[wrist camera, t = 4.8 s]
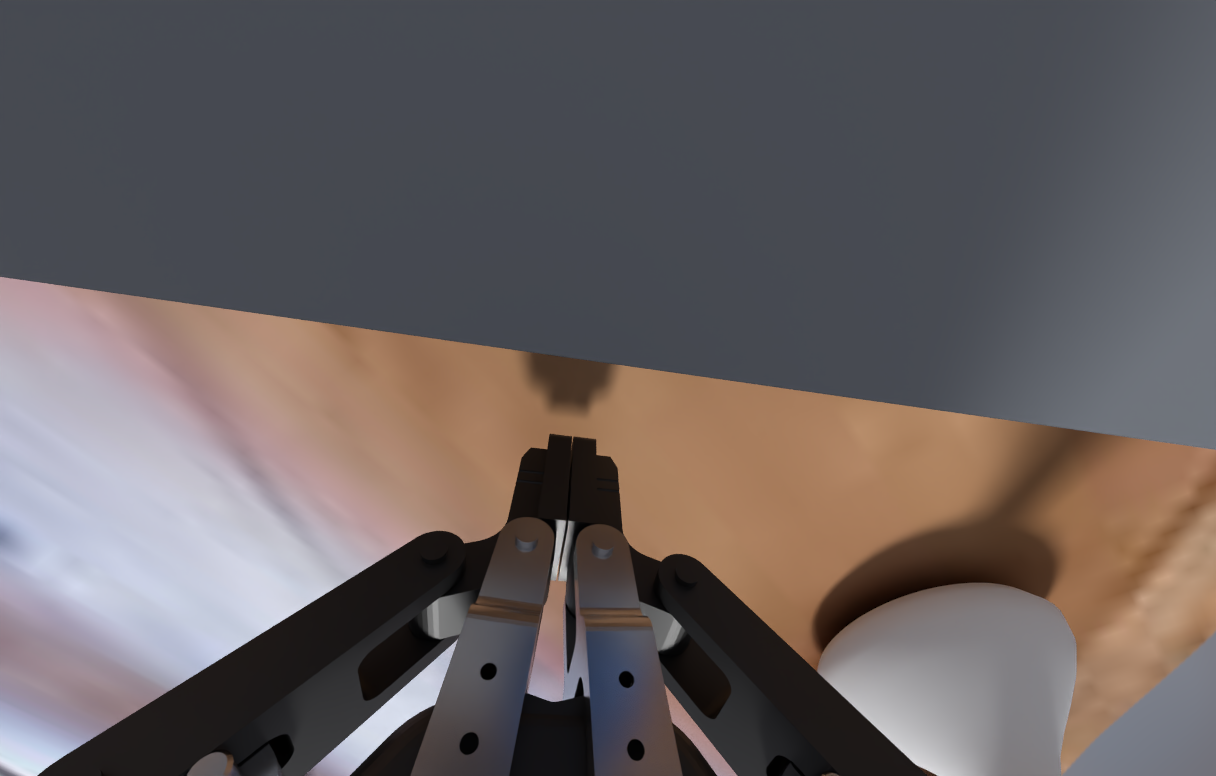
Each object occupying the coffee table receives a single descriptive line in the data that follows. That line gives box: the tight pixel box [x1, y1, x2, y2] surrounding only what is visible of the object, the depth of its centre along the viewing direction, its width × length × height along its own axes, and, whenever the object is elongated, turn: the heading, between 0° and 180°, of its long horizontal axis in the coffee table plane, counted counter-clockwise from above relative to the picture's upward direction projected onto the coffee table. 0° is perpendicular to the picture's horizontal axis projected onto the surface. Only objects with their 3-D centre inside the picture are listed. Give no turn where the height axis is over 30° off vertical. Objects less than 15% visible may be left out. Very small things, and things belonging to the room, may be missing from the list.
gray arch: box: [0, 0, 1216, 450], centre depth 7 cm, size 3×15×10 cm, turn 80°
